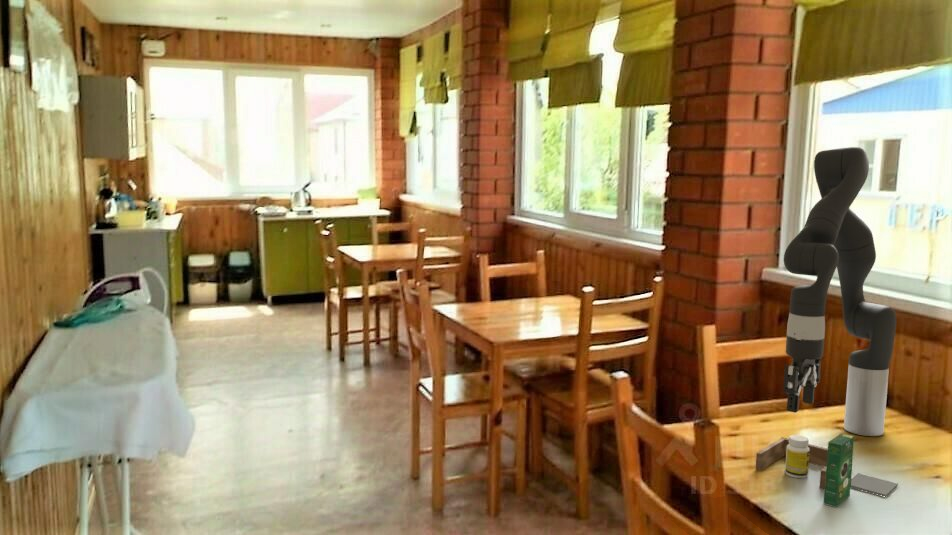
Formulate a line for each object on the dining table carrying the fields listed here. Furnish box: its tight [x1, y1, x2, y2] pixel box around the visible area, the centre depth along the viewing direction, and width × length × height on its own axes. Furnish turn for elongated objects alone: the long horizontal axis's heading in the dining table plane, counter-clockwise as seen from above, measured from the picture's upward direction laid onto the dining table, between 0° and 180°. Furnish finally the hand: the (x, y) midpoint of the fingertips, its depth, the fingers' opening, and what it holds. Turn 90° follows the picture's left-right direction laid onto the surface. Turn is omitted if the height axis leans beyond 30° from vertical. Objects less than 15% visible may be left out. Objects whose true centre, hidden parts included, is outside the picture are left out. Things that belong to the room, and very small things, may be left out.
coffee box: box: [823, 433, 855, 508], centre depth 158 cm, size 8×3×13 cm, turn 136°
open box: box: [755, 436, 828, 491], centre depth 173 cm, size 14×15×4 cm
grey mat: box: [850, 472, 899, 498], centre depth 165 cm, size 8×8×1 cm
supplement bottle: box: [784, 434, 810, 479], centre depth 171 cm, size 5×5×8 cm
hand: (800, 407), depth 169 cm, fingers open, 8 cm apart
